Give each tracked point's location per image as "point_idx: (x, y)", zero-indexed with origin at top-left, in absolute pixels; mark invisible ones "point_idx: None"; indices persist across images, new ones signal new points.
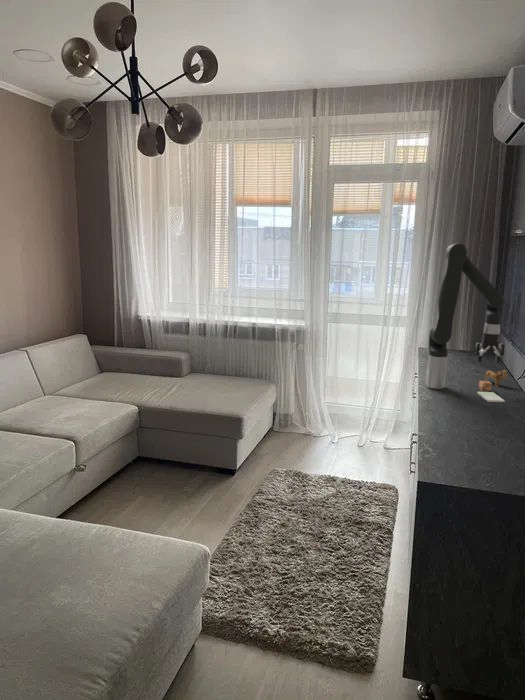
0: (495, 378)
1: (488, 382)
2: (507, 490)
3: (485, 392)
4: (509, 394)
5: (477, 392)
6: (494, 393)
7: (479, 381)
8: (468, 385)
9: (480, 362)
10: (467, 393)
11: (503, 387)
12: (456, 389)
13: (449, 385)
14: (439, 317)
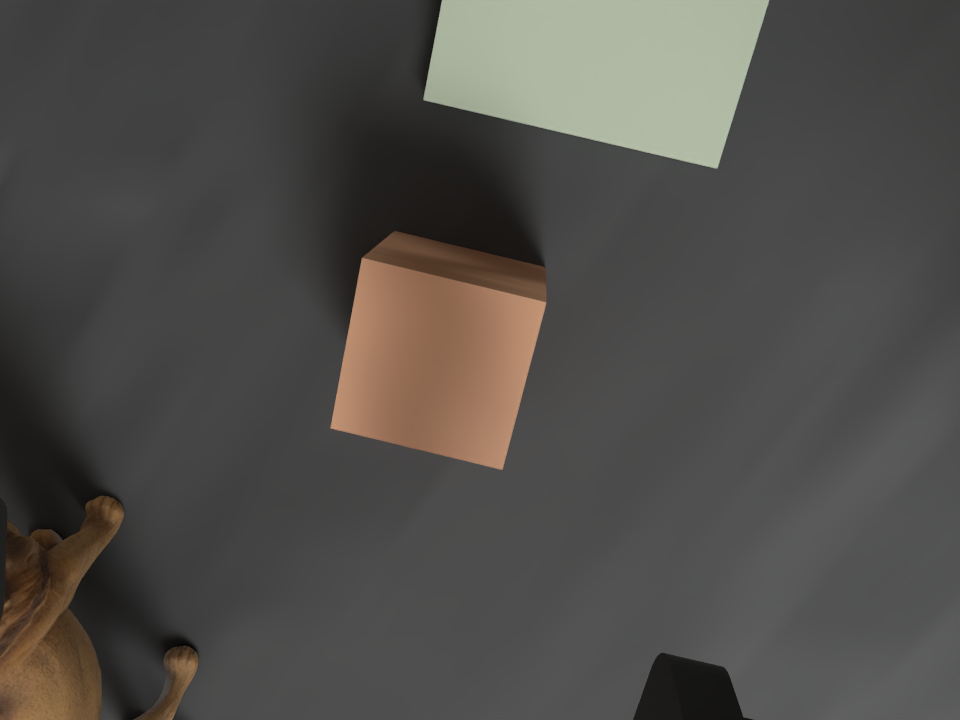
0: (63, 598)
1: (386, 332)
2: None
3: (593, 91)
4: (138, 16)
5: (717, 157)
6: (450, 7)
7: (502, 462)
8: (568, 585)
9: (695, 661)
10: (918, 166)
11: (37, 416)
12: (944, 416)
13: (896, 627)
14: None
